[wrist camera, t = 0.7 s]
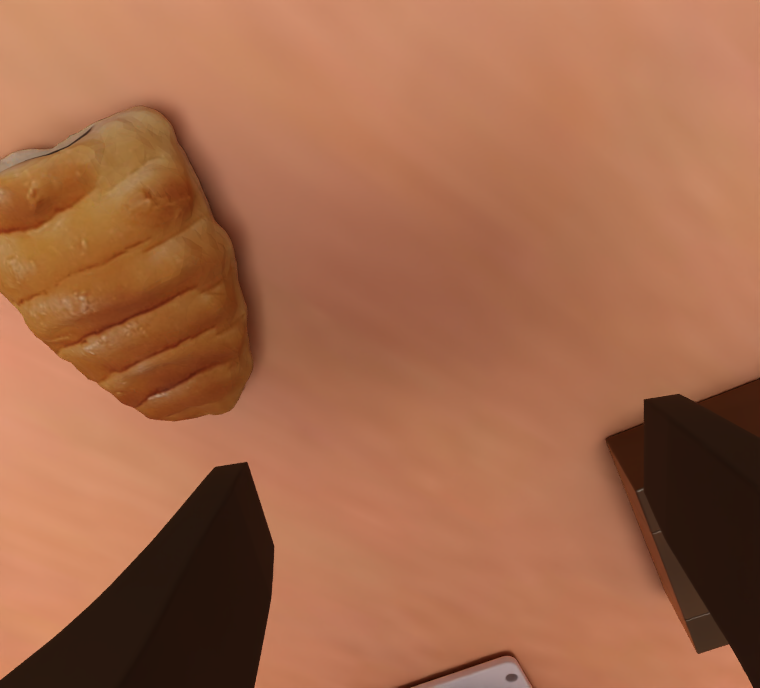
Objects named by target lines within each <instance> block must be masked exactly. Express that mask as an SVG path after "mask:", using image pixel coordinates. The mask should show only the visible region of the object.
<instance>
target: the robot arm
mask: <svg viewBox="0 0 760 688" xmlns="http://www.w3.org/2000/svg"><path fill="white" fill-rule="evenodd" d="M644 493H645V495H646V498H647V500H648V502H649V505H650V507H651V509H652V512H653V514H654V516H655V519H656V521H657V523H658V525H659V527H660V529H661V532H662V534H663V536H664V538H665V540H666V542H667V544H668V545H669V547H670V549H671V550H672V552H673V554H674V555H675V557H676V559H677V560H678V562H679V564H680V565H681V567H682V569H683V570H684V572H685V574H686V575H687V577H688V578H689V580H690V582H691V583H692V585H693V587H694V588H695V590H696V591H697V593H698V595H699V596H700V598H701V600H702V601H703V603H704V604H705V606H706V608H707V609H708V611H709V612H710V614H711V616H712V617H713V619H714V621H715V622H716V624H717V625H718V627H719V629H720V630H721V632H722V633H723V635H724V637H725V638H726V640H727V642H728V643H729V645H730V646H731V648H732V650H733V651H734V653H735V655H736V657H737V658H738V660H739V662H740V664H741V666H742V667H743V669H744V671H745V673H746V674H747V676H748V678H749V680H750V682H751V684H752V686H753V688H760V438H759V437H758V436H756V435H754V434H752V433H750V432H748V431H747V430H745V429H743V428H741V427H739V426H737V425H736V424H734V423H732V422H730V421H728V420H727V419H725V418H723V417H721V416H719V415H718V414H716V413H714V412H712V411H710V410H709V409H707V408H705V407H703V406H701V405H700V404H698V403H696V402H694V401H692V400H690V399H688V398H686V397H684V396H682V395H680V394H676V395H669V396H663V397H657V398H650V399H644ZM273 563H274V544H273V541H272V537H271V534H270V531H269V528H268V525H267V522H266V519H265V516H264V512H263V509H262V506H261V503H260V500H259V497H258V494H257V491H256V488H255V484H254V481H253V478H252V475H251V472H250V469H249V466H248V463H247V462H244V463H237V464H231V465H225V466H218V467H215V468H214V469H213V470H212V471H211V472H210V473H209V474H208V475H207V477H206V478H205V479H204V480H203V481H202V482H201V484H200V485H199V486H198V487H197V488H196V490H195V491H194V492H193V493H192V494H191V496H190V497H189V498H188V499H187V500H186V502H185V503H184V504H183V505H182V506H181V508H180V509H179V510H178V511H177V512H176V514H175V515H174V516H173V517H172V518H171V519H170V521H169V522H168V523H167V524H166V525H165V526H164V528H163V529H162V530H161V531H160V532H159V533H158V535H157V536H156V537H155V538H154V539H153V540H152V541H151V543H150V544H149V545H148V546H147V547H146V548H145V549H144V550H143V551H142V552H141V553H140V554H139V555H138V557H137V558H136V559H135V560H134V561H133V562H132V563H131V564H130V565H129V566H128V567H127V568H126V569H125V570H124V571H123V572H122V574H121V575H120V576H119V577H118V578H117V579H116V580H115V581H114V582H113V583H112V584H111V585H110V586H109V587H108V588H107V589H106V590H105V591H104V592H103V593H102V594H101V595H100V596H99V597H98V598H97V599H96V600H95V601H94V602H93V603H92V604H91V605H90V606H89V607H87V608H86V609H85V610H84V611H83V612H82V613H81V614H80V615H79V616H78V617H76V618H75V619H74V620H73V621H72V622H71V623H70V624H69V625H68V626H66V627H65V628H64V629H63V630H62V631H61V632H60V633H58V634H57V635H56V636H55V637H54V638H53V639H51V640H50V641H49V642H48V643H46V644H45V645H44V646H43V647H41V648H40V649H39V650H38V651H36V652H35V653H34V654H33V655H31V656H30V657H29V658H28V659H26V660H25V661H24V662H23V663H21V664H20V665H19V666H18V667H16V668H15V669H14V670H13V671H11V672H10V673H9V674H8V675H6V676H5V677H4V678H3V679H1V680H0V688H254V686H255V681H256V676H257V671H258V666H259V661H260V655H261V650H262V645H263V640H264V635H265V629H266V624H267V619H268V613H269V608H270V602H271V595H272V581H273ZM411 688H532V686H531V684H530V683H529V681H528V679H527V677H526V676H525V674H524V672H523V670H522V669H521V667H520V665H519V663H518V662H517V660H516V659H515V658H514V657H511V656H502V657H499V658H496V659H493V660H490V661H487V662H485V663H482V664H479V665H476V666H473V667H470V668H467V669H464V670H461V671H458V672H455V673H452V674H449V675H446V676H443V677H440V678H437V679H434V680H431V681H428V682H425V683H422V684H419V685H416V686H414V687H411Z"/></svg>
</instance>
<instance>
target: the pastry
mask: <svg viewBox="0 0 760 688" xmlns="http://www.w3.org/2000/svg"><path fill="white" fill-rule="evenodd" d="M0 292H1V293H2V294H3V295H4V296H5V297H6V298H7V299H8V300H9V301H10V302H11V303H12V304H13V305H14V306H15V307H16V308H17V309H18V310H19V312H20V313H21V314H22V315H23V318H24V320H25V323H26V324H27V326H28V327H29V329H30V330H31V331H32V332H33V333H34V335H35V336H36V337H37V338H39V339H40V340H42V341H43V342H44V343H45V344H46V345H48V346H49V347H50V348H51V349H52V350H53V351H54V352H55V353H56V354H57V355H58V356H59V357H60V358H62V359H64V360H66V361H68V362H71V363H72V364H73V365H74V366H75V367H76V368H77V369H78V370H79V371H80V372H81V373H82V374H83V375H85V376H86V377H87V378H88V379H89V380H92V381H95V382H97V383H98V384H99V385H100V386H101V387H102V388H103V389H105V390H107V391H108V392H110V393H111V394H113V395H114V396H115V397H116V398H117V399H118V400H119V401H120V402H121V403H123V404H125V405H128V406H131V407H133V408H135V409H136V410H138V411H139V412H141V413H142V414H144V415H145V416H146V417H148V418H149V419H155V420H165V421H180V420H186V419H192V418H197V417H201V416H204V415H208V414H212V415H219V414H223V413H226V412H228V411H230V410H231V409H233V408H234V406H235V404H236V403H237V401H238V400H239V398H240V395H241V393H242V391H243V389H244V386H245V384H246V382H247V380H248V379H249V376H250V374H251V372H252V369H253V358H252V354H251V350H250V346H249V336H248V333H247V306H246V304H245V301H244V297H243V294H242V291H241V288H240V285H239V282H238V276H237V262H236V259H235V251H234V248H233V245H232V242H231V240H230V238H229V236H228V234H227V233H226V231H225V230H224V229H223V228H222V227H221V226H220V225H219V224H218V223H217V222H216V221H215V219H214V217H213V215H212V212H211V208H210V204H209V202H208V200H207V199H206V197H205V194H204V192H203V189H202V187H201V185H200V182H199V179H198V177H197V176H196V174H195V172H194V170H193V168H192V166H191V164H190V162H189V159H188V157H187V155H186V153H185V152H184V150H183V148H182V147H181V146H180V145H179V143H178V142H177V139H176V135H175V132H174V129H173V127H172V125H171V124H170V122H169V121H168V120H167V119H166V118H165V117H164V116H163V115H162V114H161V113H160V112H159V111H156V110H154V109H152V108H148V107H145V106H136V107H133V108H129V109H127V110H125V111H122V112H119V113H116V114H113V115H111V116H110V117H108V118H105V119H102V120H100V121H97V122H95V123H93V124H91V125H89V126H87V127H86V128H84V129H83V130H81V131H80V132H78V133H76V134H73V135H71V136H69V137H68V138H67V139H66V140H64V141H62V142H61V143H59V144H58V145H57V146H55V147H53V148H52V149H39V150H38V149H25V150H20V151H16V152H13V153H11V154H10V155H8V156H6V157H5V158H3V159H1V160H0Z"/></svg>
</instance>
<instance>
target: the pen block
mask: <svg viewBox="0 0 760 688" xmlns="http://www.w3.org/2000/svg"><path fill="white" fill-rule="evenodd" d="M698 404H700V405H701V406H703V407H705V408H707V409H709V410H710V411H712V412H714V413H716V414H718V415H719V416H721V417H723V418H725V419H727V420H728V421H730V422H732V423H734V424H736V425H737V426H739V427H741V428H743V429H745V430H747V431H748V432H750V433H752V434H754V435H756V436H758V437H759V438H760V379H759V380H756V381H753V382H751V383H748V384H746V385H743V386H741V387H738V388H735V389H733V390H730V391H728V392H725V393H722V394H720V395H717V396H715V397H712V398H710V399H707V400H704V401H702V402H699V403H698ZM606 443H607V445H608V448H609V450H610V453H611V455H612V458H613V460H614V463H615V466H616V468H617V471H618V473H619V476H620V478H621V481H622V483H623V486H624V488H625V491H626V494H627V496H628V499H629V501H630V504H631V506H632V509H633V511H634V514H635V516H636V519H637V521H638V524H639V527H640V529H641V532H642V534H643V537H644V539H645V542H646V544H647V547H648V549H649V552H650V554H651V557H652V560H653V562H654V565H655V567H656V570H657V572H658V575H659V577H660V580H661V583H662V585H663V588H664V590H665V593H666V595H667V596H668V598H669V600H670V602H671V604H672V606H673V608H674V610H675V612H676V614H677V616H678V617H679V619H680V621H681V623H682V625H683V627H684V629H685V631H686V633H687V635H688V637H689V638H690V640H691V642H692V644H693V646H694V648H695V650H696V652H697V653H698V654H700V653H703V652H706V651H709V650H712V649H715V648H719V647H722V646H725V645H728V644H729V643H728V642H727V640H726V638H725V637H724V635H723V633H722V632H721V630H720V629H719V627H718V625H717V624H716V622H715V621H714V619H713V617H712V616H711V614H710V612H709V611H708V609H707V608H706V606H705V604H704V603H703V601H702V600H701V598H700V596H699V595H698V593H697V591H696V590H695V588H694V587H693V585H692V583H691V582H690V580H689V578H688V577H687V575H686V574H685V572H684V570H683V569H682V567H681V565H680V564H679V562H678V560H677V559H676V557H675V555H674V554H673V552H672V550H671V549H670V547H669V545H668V544H667V542H666V540H665V538H664V536H663V534H662V532H661V529H660V527H659V525H658V523H657V521H656V519H655V516H654V514H653V512H652V509H651V507H650V505H649V502H648V500H647V498H646V495H645V493H644V424H643V425H640V426H637V427H635V428H632V429H630V430H627V431H624V432H622V433H619V434H617V435H614V436H612V437H609V438H607V439H606Z"/></svg>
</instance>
